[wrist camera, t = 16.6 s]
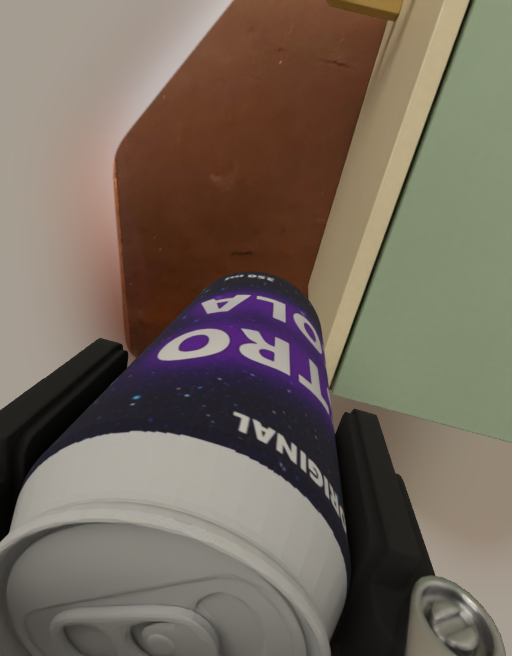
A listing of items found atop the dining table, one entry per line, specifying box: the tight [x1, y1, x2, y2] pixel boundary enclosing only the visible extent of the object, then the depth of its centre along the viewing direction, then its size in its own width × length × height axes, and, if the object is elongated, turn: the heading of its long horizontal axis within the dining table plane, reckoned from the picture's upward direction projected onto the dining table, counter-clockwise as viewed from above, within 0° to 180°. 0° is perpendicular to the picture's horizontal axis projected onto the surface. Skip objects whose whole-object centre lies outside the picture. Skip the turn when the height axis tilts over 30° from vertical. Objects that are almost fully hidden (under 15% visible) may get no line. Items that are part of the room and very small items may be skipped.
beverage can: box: [0, 272, 351, 656], centre depth 11 cm, size 6×6×12 cm
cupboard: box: [331, 0, 512, 443], centre depth 28 cm, size 18×26×24 cm
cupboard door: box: [308, 0, 470, 387], centre depth 28 cm, size 7×26×24 cm, turn 166°
